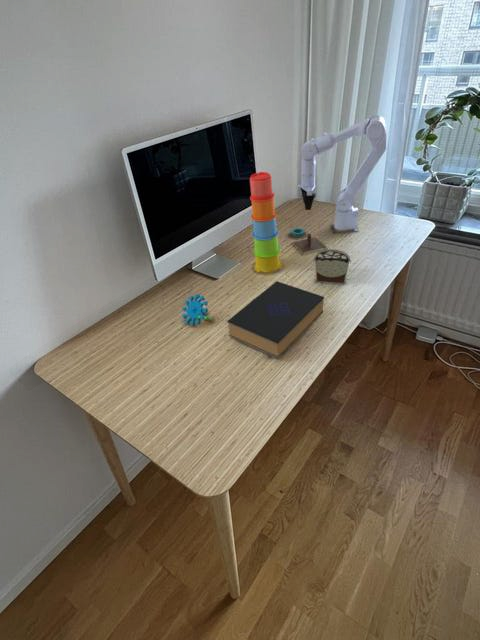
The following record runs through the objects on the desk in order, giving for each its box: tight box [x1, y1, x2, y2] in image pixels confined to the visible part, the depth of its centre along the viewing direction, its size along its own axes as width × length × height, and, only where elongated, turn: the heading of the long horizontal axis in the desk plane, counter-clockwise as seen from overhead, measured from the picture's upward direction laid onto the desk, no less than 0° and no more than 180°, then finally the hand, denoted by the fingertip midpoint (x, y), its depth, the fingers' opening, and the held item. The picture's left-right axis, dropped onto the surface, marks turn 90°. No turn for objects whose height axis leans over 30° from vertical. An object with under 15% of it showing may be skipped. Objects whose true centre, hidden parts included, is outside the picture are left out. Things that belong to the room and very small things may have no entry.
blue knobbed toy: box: [181, 293, 213, 327], centre depth 120 cm, size 11×6×10 cm
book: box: [226, 280, 325, 360], centre depth 113 cm, size 17×25×7 cm
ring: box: [290, 227, 306, 238], centre depth 162 cm, size 6×6×2 cm
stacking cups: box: [249, 171, 282, 275], centre depth 133 cm, size 10×10×35 cm
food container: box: [312, 248, 352, 285], centre depth 131 cm, size 12×6×10 cm, turn 74°
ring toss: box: [292, 233, 327, 254], centre depth 153 cm, size 10×10×5 cm
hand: (307, 206), depth 163 cm, fingers open, 7 cm apart
